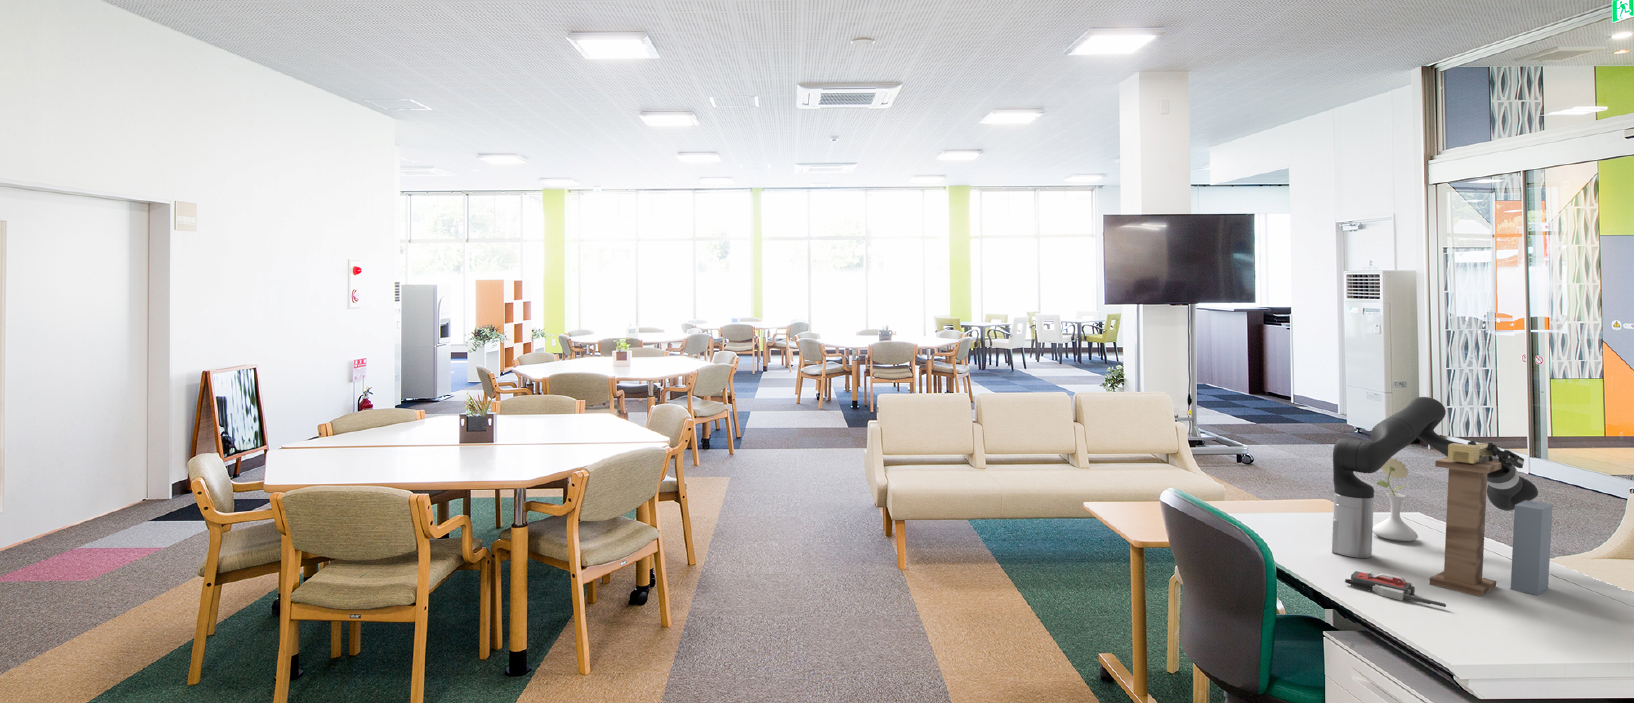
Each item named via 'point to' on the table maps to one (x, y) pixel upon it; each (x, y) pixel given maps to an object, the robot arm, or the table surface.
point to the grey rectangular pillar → (1531, 547)
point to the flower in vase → (1394, 506)
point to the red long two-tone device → (1387, 586)
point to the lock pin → (1467, 452)
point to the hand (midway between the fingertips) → (1480, 444)
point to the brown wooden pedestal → (1465, 526)
